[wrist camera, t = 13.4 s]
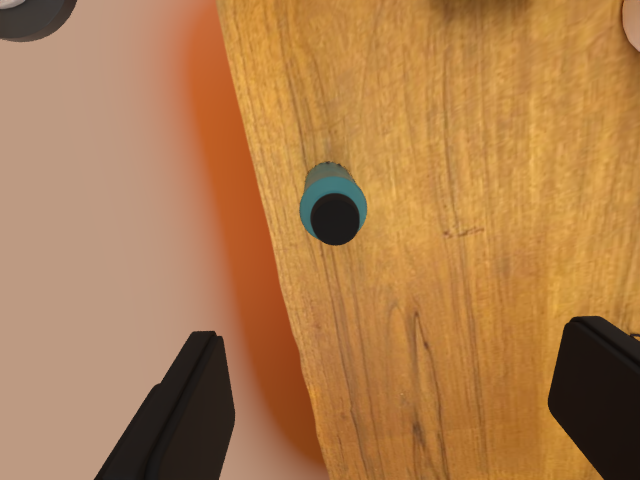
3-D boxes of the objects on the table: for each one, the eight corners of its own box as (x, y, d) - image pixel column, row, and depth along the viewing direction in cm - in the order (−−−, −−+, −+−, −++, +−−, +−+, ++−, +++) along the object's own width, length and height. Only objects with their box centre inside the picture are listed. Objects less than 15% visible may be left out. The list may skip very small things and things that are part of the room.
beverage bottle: (308, 210, 46) (302, 269, 27) (300, 162, 44) (286, 190, 25) (355, 203, 46) (381, 257, 27) (348, 154, 44) (372, 176, 25)
